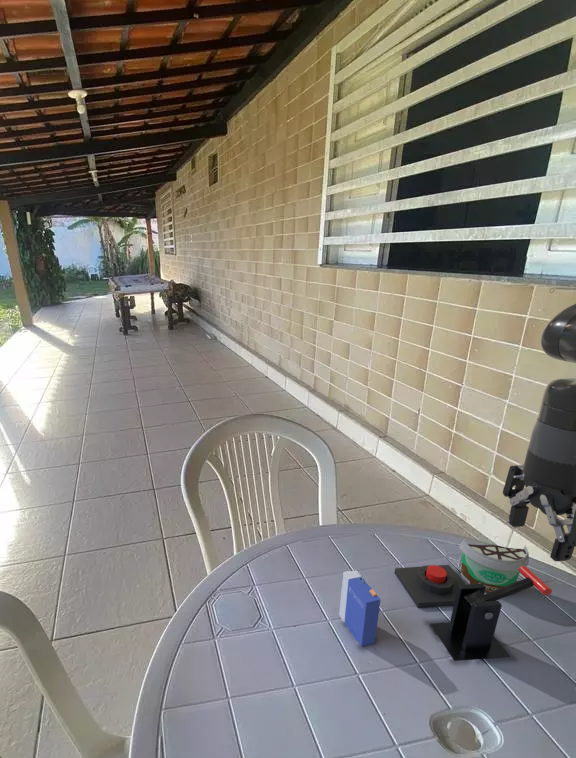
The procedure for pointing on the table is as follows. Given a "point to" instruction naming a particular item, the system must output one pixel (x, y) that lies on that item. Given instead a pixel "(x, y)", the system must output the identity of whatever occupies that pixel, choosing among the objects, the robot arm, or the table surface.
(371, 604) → the walkman
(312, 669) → the table surface
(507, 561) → the food container
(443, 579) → the stop button
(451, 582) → the stop block
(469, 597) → the lever
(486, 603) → the switch bracket
